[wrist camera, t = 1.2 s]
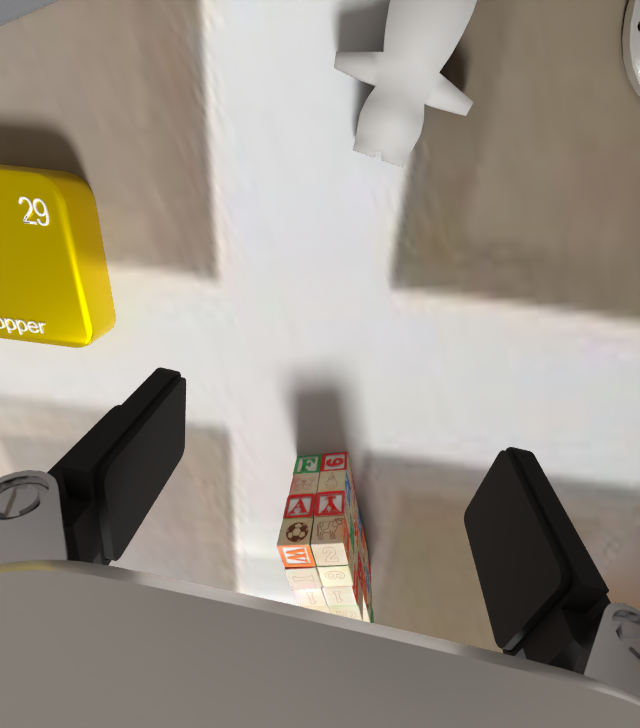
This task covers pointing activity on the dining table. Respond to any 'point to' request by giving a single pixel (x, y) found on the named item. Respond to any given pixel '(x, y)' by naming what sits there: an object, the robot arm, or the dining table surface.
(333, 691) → the robot arm
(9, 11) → the grey square tray
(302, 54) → the dining table surface
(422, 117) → the bunny figurine
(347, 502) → the stack of blocks
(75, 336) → the element tile
